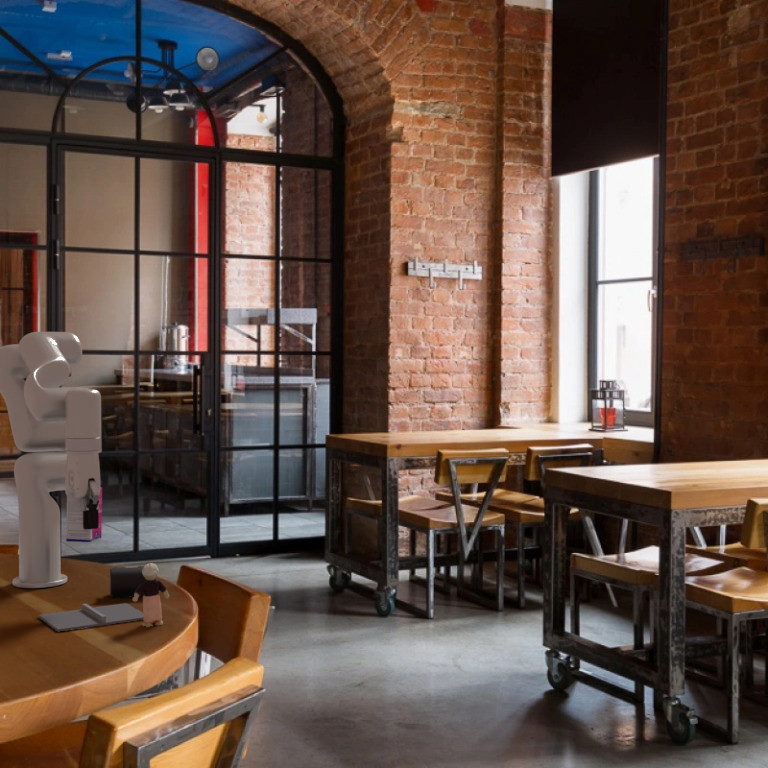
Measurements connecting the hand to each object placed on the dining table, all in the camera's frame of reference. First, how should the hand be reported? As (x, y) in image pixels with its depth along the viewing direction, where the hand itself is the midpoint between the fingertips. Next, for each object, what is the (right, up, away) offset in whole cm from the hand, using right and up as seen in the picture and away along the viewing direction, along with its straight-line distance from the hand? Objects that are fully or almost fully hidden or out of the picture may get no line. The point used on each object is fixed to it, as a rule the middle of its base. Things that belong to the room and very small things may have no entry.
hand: (84, 525), depth 231 cm
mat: (+4, -18, -9) cm, 21 cm away
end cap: (+8, -18, +12) cm, 23 cm away
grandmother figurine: (+17, -19, -14) cm, 29 cm away
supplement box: (0, -3, 0) cm, 3 cm away
